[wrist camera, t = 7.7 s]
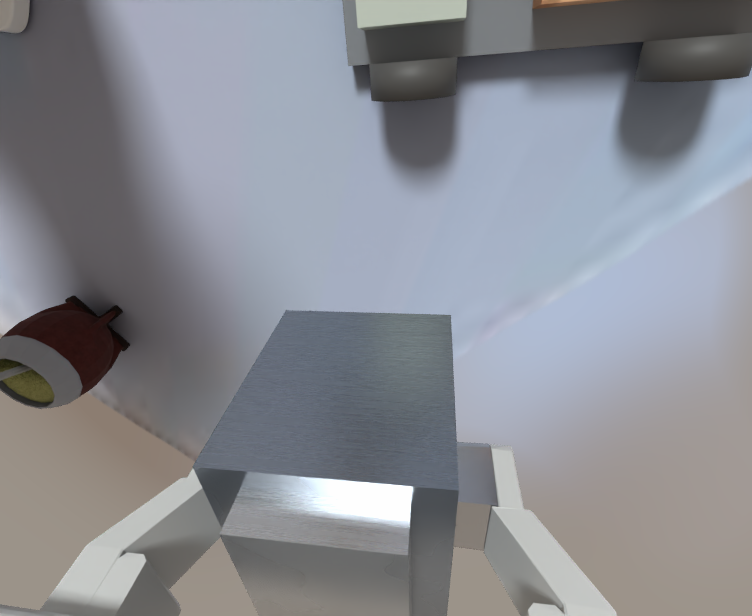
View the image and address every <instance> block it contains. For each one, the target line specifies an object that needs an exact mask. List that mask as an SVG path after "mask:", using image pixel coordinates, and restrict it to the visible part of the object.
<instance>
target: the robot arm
mask: <svg viewBox="0 0 752 616" xmlns="http://www.w3.org/2000/svg"><path fill="white" fill-rule="evenodd" d="M29 5H30V0H0V31H1V32H8V33H20V32H22V31H23V30H24V29H25V28H26V26H27V22H28V17H29ZM457 461H458V483H459V494H458V505H457V515H456V525H455V536H454V547H461V548H469V549H476V550H483V551H484V554H485V555H486V557H487V559H488V561H489V562H490V564H491V566H492V567H493V569H494V571H495V573H496V574H497V576H498V578H499V579H500V581H501V583H502V584H503V586H504V588H505V590H506V591H507V593H508V595H509V597H510V598H511V600H512V602H513V603H514V605H515V607H516V608H517V610H518V612H519V614H520V615H521V616H617V614H616V611H615V610H614V609H613V608H612V606H611V605H610V604H609V603H608V602H607V600H606V599H605V598H604V597H603V596H602V595H601V593H600V592H599V591H598V590H597V588H596V587H595V586H594V585H593V584H592V583H591V581H590V580H589V579H588V578H587V577H586V576H585V574H584V573H583V572H582V571H581V569H580V568H579V567H578V566H577V565H576V564H575V562H574V561H573V560H572V559H571V557H570V556H569V555H568V554H567V553H566V551H565V550H564V549H563V548H562V547H561V545H560V544H559V543H558V542H557V541H556V539H555V538H554V537H553V536H552V535H551V533H550V532H549V531H548V530H547V529H546V528H545V526H544V525H543V524H542V523H541V522H540V520H539V519H538V518H537V517H536V516H535V514H534V513H533V512H532V511H531V510H527V509H524V505H523V500H522V495H521V490H520V485H519V480H518V474H517V469H516V464H515V459H514V454H513V450H512V448H511V447H510V446H505V445H489V444H481V443H464V442H457ZM221 529H222V528H221V526H220V524H219V522H218V520H217V518H216V516H215V513H214V511H213V509H212V507H211V505H210V503H209V501H208V499H207V497H206V494H205V492H204V490H203V488H202V486H201V484H200V482H199V480H198V478H197V475H196V473H195V471H194V469H193V468H192V470H191V472H190V473H189V475H188V477H187V478H180V479H179V480H177V481H176V482H174V483H173V484H172V485H170V486H169V487H167V488H166V489H165V490H163V491H162V492H160V493H159V494H158V495H157V496H155V497H153V498H152V499H151V500H149V501H148V502H146V503H145V504H144V505H142V506H141V507H139V508H138V509H137V510H135V511H134V512H132V513H131V514H130V515H128V516H127V517H126V518H124V519H123V520H121V521H120V522H118V523H117V524H116V525H114V526H113V527H112V528H110V529H109V530H107V531H106V532H104V533H103V534H102V535H100V536H99V537H97V538H96V539H95V540H93V541H92V542H90V543H89V544H88V545H86V547H85V548H84V549H83V551H82V553H81V554H80V555H79V556H78V558H77V559H76V561H75V562H74V563H73V565H72V566H71V567H70V569H69V570H68V572H67V573H66V574H65V576H64V577H63V579H62V580H61V581H60V583H59V584H58V585H57V587H56V588H55V590H54V591H53V592H52V594H51V595H50V597H49V598H48V600H47V601H46V602H45V604H44V605H43V606H42V608H41V609H40V610H33V609H27V608H20V607H13V606H7V605H0V616H179V614H180V611H181V609H180V605H179V603H178V601H177V600H176V599H175V597H174V596H173V594H172V593H171V592H170V590H169V589H170V588H171V587H172V586H173V585H174V584H175V583H176V582H177V580H179V579H180V577H182V575H183V574H185V573H186V571H187V570H188V569H189V568H190V567H191V566H192V565H193V564H194V563H195V562H196V561H197V560H198V559H199V558H200V557H201V556H202V555H203V554H204V553H205V552H206V551H207V550H208V549H209V548H210V547H211V546H212V545H213V544H214V543H215V542H216V541H217V540H218V539H219V538H220V535H219V534H220V532H221Z"/></svg>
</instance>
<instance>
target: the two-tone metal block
mask: <svg viewBox="0 0 752 616" xmlns="http://www.w3.org/2000/svg"><path fill="white" fill-rule="evenodd" d="M453 376H454V375H453V353H452V332H451V315H431V314H395V313H359V312H323V311H287V310H286V311H285V313H284V315H283V316H282V318H281V320H280V321H279V323H278V325H277V326H276V328H275V330H274V331H273V333H272V335H271V336H270V338H269V340H268V341H267V343H266V345H265V346H264V348H263V350H262V352H261V353H260V355H259V357H258V358H257V360H256V362H255V363H254V365H253V367H252V368H251V370H250V372H249V373H248V375H247V377H246V378H245V380H244V382H243V383H242V385H241V387H240V388H239V390H238V392H237V393H236V395H235V397H234V398H233V400H232V402H231V403H230V405H229V407H228V408H227V410H226V412H225V413H224V415H223V417H222V418H221V420H220V422H219V423H218V425H217V427H216V428H215V430H214V432H213V433H212V435H211V437H210V438H209V440H208V442H207V443H206V445H205V447H204V448H203V450H202V452H201V453H200V455H199V457H198V458H197V460H196V462H195V463H194V465H193V469H194V471H195V473H196V475H197V478H198V480H199V482H200V484H201V486H202V488H203V490H204V492H205V494H206V497H207V499H208V501H209V503H210V505H211V507H212V509H213V511H214V513H215V516H216V518H217V520H218V522H219V524H220V526H221V528H222V529H221V532H220V534H219V535H220V537H221V539H222V541H223V543H224V545H225V547H226V549H227V551H228V553H229V555H230V557H231V559H232V561H233V563H234V565H235V567H236V569H237V572H238V573H239V576H240V577H241V580H242V582H243V584H244V586H245V588H246V589H247V592H248V594H249V596H250V598H251V600H252V602H253V605H254V607H255V608H256V611H257V613H258V615H259V616H447V607H448V597H449V588H450V577H451V566H452V556H453V546H454V536H455V525H456V515H457V505H458V494H459V483H458V461H457V440H456V420H455V396H454V377H453Z"/></svg>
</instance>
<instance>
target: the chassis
mask: <svg viewBox="0 0 752 616" xmlns="http://www.w3.org/2000/svg"><path fill="white" fill-rule="evenodd" d="M342 1H343V12H344V23H345V33H346V44H347V55H348V66H355V65H367V64H369V70H370V84H371V99H372V101H381V102H390V101H412V100H424V99H434V98H441V97H448V96H452V95H455V94H456V83H457V57H464V56H476V55H488V54H500V53H512V52H524V51H536V50H548V49H560V48H572V47H584V46H596V45H608V44H620V43H632V42H643V45H642V49H641V53H640V58H639V62H638V66H637V70H636V74H635V79H634V80H635V81H642V82H683V81H705V80H721V79H732V78H741V77H746V76H749V73H750V70H751V67H752V0H342Z"/></svg>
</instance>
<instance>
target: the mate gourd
mask: <svg viewBox="0 0 752 616" xmlns="http://www.w3.org/2000/svg"><path fill="white" fill-rule="evenodd" d="M66 302H67V303H65V304H62V305H58V306H55V307H51V308H48V309H46V310H43V311H41V312H39V313H37V314H35V315H33V316H31V317H29V318H27V319H25V320H23V321H21V322H19V323H18V324H17V325H16V326H14V327H13V328H12V329H10V330H9V331H8V332H7V333H6V334H5V335H4V336H3V337H2V338H1V339H0V390H1V391H2V392H3V393H5V394H6V395H8V396H9V397H10V398H12V399H13V400H15V401H17V402H20V403H22V404H24V405H27V406H30V407H35V408H39V409H42V408H53V407H58V406H62V405H65V404H68V403H70V402H72V401H73V400H75V399H77V398H78V397H80V396H81V395H82V394H84V393H86V392H87V391H89V390H90V389H92V388H93V387H94V386H95V385H97V383H98V382H99V381H100V380H101V379H102V378H103V377H104V375H105V374H106V373H107V372H108V371H109V370H110V368H111V367H112V366H113V364H114V362H115V361H116V359H117V357H118V355H119V353H120V351H121V350H122V351H125V350H126V349H127V348H128V347H129V346H130V344H129V343H128V342H127V341H126V340H124V339H123V338H122V337H121V336H120V335H119V334H118V333H117V332H115V331H114V330H113V329H112V328H111V327H110V326H109V324H108V323H109V322H111V321H112V320H113V319H115V318H116V317H117V316H119V315H120V314H121V313H122V312H123V311H122V309H120V308H119V307H118V306H114V307H112V308H111V309H110V310H108V311H107V312H106V313H104V314H103V315H101V316H98V315H96V314H95V313H94V312H93V311H92V310H91V309H89V308H88V307H87V306H86V305H85V304H84V303H83V302H81V301H80V300H79V299H78V298H77V297H75V296H72V297H69V298H67V299H66Z"/></svg>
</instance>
